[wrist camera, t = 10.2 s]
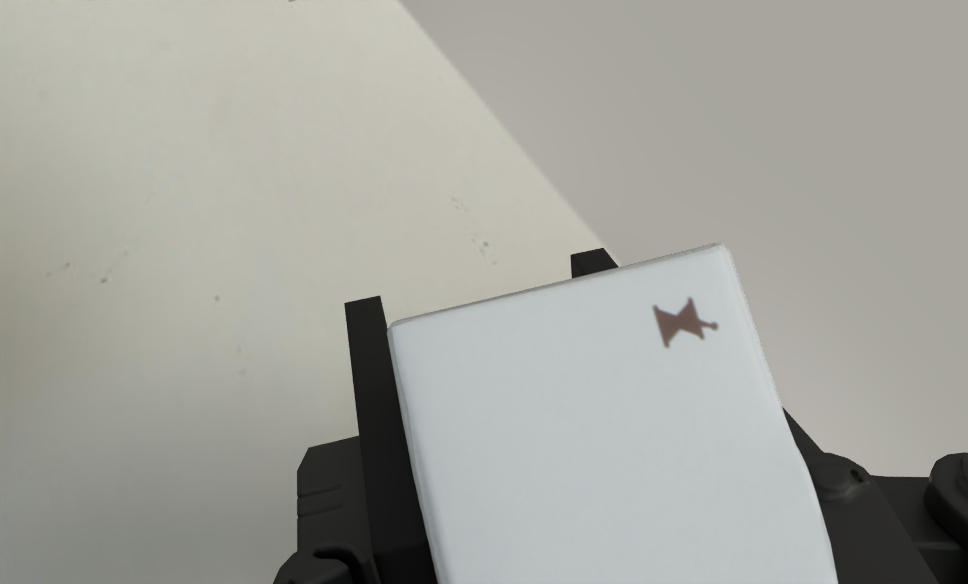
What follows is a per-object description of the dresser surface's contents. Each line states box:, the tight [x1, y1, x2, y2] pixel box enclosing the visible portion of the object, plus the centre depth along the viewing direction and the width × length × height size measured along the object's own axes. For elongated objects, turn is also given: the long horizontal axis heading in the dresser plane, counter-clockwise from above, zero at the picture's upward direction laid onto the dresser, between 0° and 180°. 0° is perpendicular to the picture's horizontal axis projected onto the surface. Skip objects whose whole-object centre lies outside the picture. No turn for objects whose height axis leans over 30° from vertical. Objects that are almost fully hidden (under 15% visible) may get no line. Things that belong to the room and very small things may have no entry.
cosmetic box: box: [387, 243, 838, 584], centre depth 13 cm, size 6×4×12 cm
